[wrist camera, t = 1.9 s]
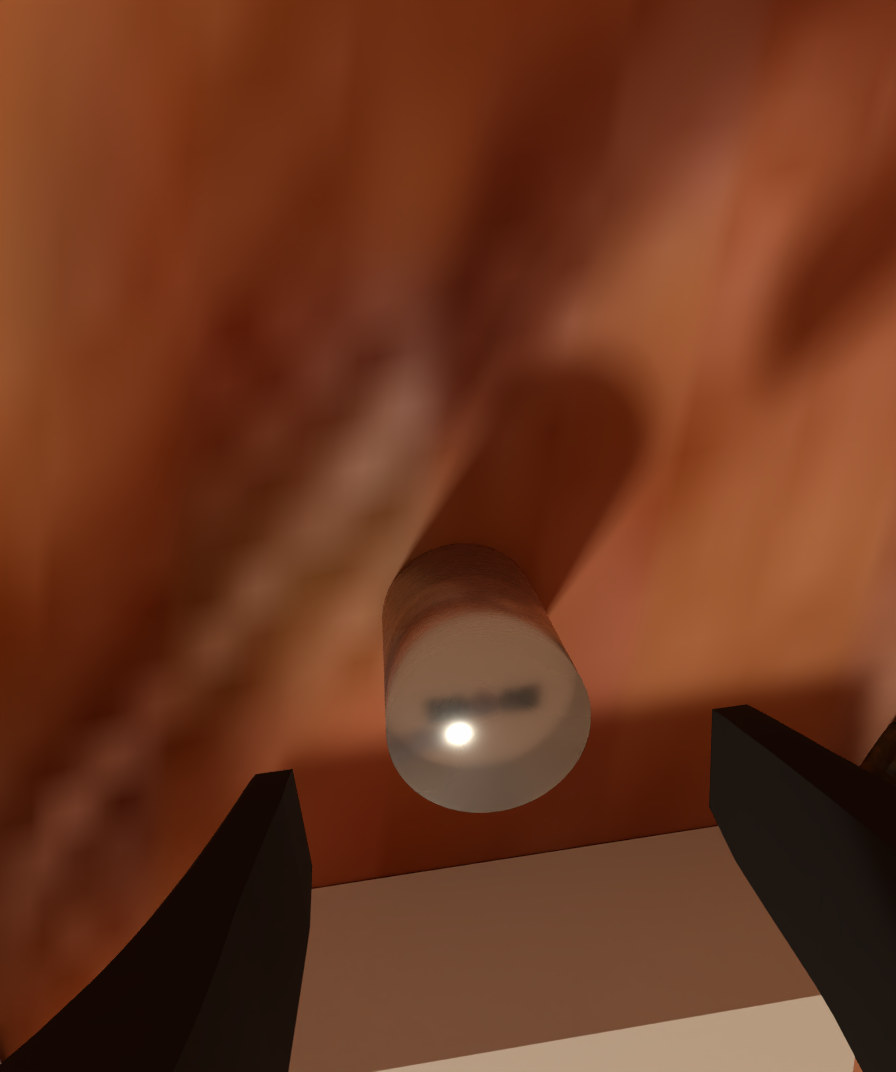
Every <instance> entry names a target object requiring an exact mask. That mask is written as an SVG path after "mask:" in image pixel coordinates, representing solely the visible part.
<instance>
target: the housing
mask: <svg viewBox="0 0 896 1072" xmlns="http://www.w3.org/2000/svg"><path fill="white" fill-rule="evenodd" d="M854 1058H855V1056H854V1054H853V1052H852V1050H851V1048H850V1046H849V1045H848V1043H847V1041H846V1039H845V1037H844V1035H843V1033H842V1031H841V1029H840V1027H839V1026H838V1024H837V1022H836V1020H835V1018H834V1016H833V1014H832V1013H831V1011H830V1009H829V1007H828V1006H827V1004H826V1002H825V1001H824V999H823V997H822V996H821V994H820V992H819V991H818V989H817V987H816V986H815V984H814V982H813V981H812V979H811V978H810V976H809V975H808V973H807V972H806V970H805V969H804V967H803V966H802V964H801V962H800V961H799V959H798V958H797V956H796V955H795V953H794V952H793V950H792V949H791V947H790V945H789V944H788V942H787V941H786V939H785V938H784V936H783V935H782V933H781V932H780V930H779V929H778V927H777V925H776V924H775V922H774V921H773V919H772V918H771V916H770V915H769V913H768V912H767V910H766V908H765V907H764V905H763V904H762V902H761V901H760V899H759V898H758V896H757V894H756V893H755V891H754V890H753V888H752V887H751V885H750V883H749V882H748V880H747V879H746V877H745V876H744V874H743V872H742V871H741V869H740V868H739V866H738V864H737V863H736V861H735V859H734V857H733V855H732V853H731V851H730V849H729V847H728V845H727V843H726V841H725V839H724V837H723V835H722V833H721V831H720V828H719V826H715V827H709V828H702V829H696V830H689V831H683V832H676V833H670V834H664V835H657V836H651V837H644V838H638V839H631V840H625V841H618V842H612V843H605V844H599V845H593V846H586V847H580V848H573V849H567V850H560V851H554V852H547V853H541V854H535V855H528V856H522V857H515V858H509V859H502V860H496V861H489V862H483V863H476V864H470V865H464V866H457V867H451V868H444V869H438V870H431V871H425V872H418V873H412V874H405V875H399V876H393V877H386V878H380V879H373V880H367V881H360V882H354V883H347V884H341V885H335V886H328V887H322V888H315V889H312V892H311V917H310V931H309V938H308V945H307V952H306V959H305V966H304V973H303V979H302V986H301V992H300V999H299V1005H298V1012H297V1019H296V1025H295V1032H294V1038H293V1045H292V1051H291V1058H290V1064H289V1071H288V1072H853V1066H854Z"/></svg>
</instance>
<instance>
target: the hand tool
mask: <svg viewBox="0 0 896 1072" xmlns="http://www.w3.org/2000/svg"><path fill="white" fill-rule="evenodd" d="M860 767H861V768H863V769H864V770H866V771H868V772H870V773H872V774H874V775H876V776H878V777H880V778H882V779H884V780H885V781H887V782H889V783H891V784H893V785H895V786H896V722H894V723H891V724H890V725H889V726H888V727H887V729H886V730H885V731H884V733H883V734H882V735H881V737H880V738H879V739H878V741H877V742H876V744H875V745H874V747H873V748H872V749H871V751H870V752H869V754H868V755H867V757H866V758H865V760H864V762H863V763H862V765H861V766H860Z"/></svg>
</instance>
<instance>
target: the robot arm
mask: <svg viewBox="0 0 896 1072" xmlns="http://www.w3.org/2000/svg"><path fill="white" fill-rule="evenodd" d="M709 807H710V809H711V811H712V813H713V815H714V818H715V820H716V822H717V824H718V826H719V828H720V831H721V833H722V835H723V837H724V839H725V841H726V843H727V845H728V847H729V849H730V851H731V853H732V855H733V857H734V859H735V861H736V863H737V864H738V866H739V868H740V869H741V871H742V872H743V874H744V876H745V877H746V879H747V880H748V882H749V883H750V885H751V887H752V888H753V890H754V891H755V893H756V894H757V896H758V898H759V899H760V901H761V902H762V904H763V905H764V907H765V908H766V910H767V912H768V913H769V915H770V916H771V918H772V919H773V921H774V922H775V924H776V925H777V927H778V929H779V930H780V932H781V933H782V935H783V936H784V938H785V939H786V941H787V942H788V944H789V945H790V947H791V949H792V950H793V952H794V953H795V955H796V956H797V958H798V959H799V961H800V962H801V964H802V966H803V967H804V969H805V970H806V972H807V973H808V975H809V976H810V978H811V979H812V981H813V982H814V984H815V986H816V987H817V989H818V991H819V992H820V994H821V996H822V997H823V999H824V1001H825V1002H826V1004H827V1006H828V1007H829V1009H830V1011H831V1013H832V1014H833V1016H834V1018H835V1020H836V1022H837V1024H838V1026H839V1027H840V1029H841V1031H842V1033H843V1035H844V1037H845V1039H846V1041H847V1043H848V1045H849V1046H850V1048H851V1050H852V1052H853V1054H854V1056H855V1058H856V1060H857V1062H858V1064H859V1065H860V1067H861V1069H862V1071H863V1072H896V786H895V785H893V784H891V783H889V782H887V781H885V780H884V779H882V778H880V777H878V776H876V775H874V774H872V773H870V772H868V771H866V770H864V769H863V768H861V767H859V766H857V765H855V764H853V763H851V762H850V761H848V760H846V759H844V758H842V757H841V756H839V755H837V754H835V753H833V752H832V751H830V750H828V749H826V748H824V747H823V746H821V745H819V744H817V743H816V742H814V741H812V740H810V739H809V738H807V737H805V736H803V735H802V734H800V733H798V732H796V731H795V730H793V729H791V728H789V727H787V726H786V725H784V724H782V723H780V722H779V721H777V720H775V719H773V718H771V717H770V716H768V715H766V714H764V713H762V712H760V711H759V710H757V709H755V708H753V707H751V706H749V705H740V706H733V707H726V708H719V709H712V736H711V768H710V800H709ZM311 892H312V863H311V858H310V853H309V848H308V843H307V838H306V833H305V828H304V823H303V818H302V813H301V808H300V803H299V798H298V794H297V789H296V784H295V779H294V774H293V769H290V770H283V771H276V772H269V773H262V774H256V775H255V776H254V777H253V778H252V780H251V781H250V782H249V784H248V785H247V787H246V788H245V790H244V791H243V793H242V794H241V796H240V797H239V799H238V800H237V802H236V803H235V805H234V806H233V808H232V809H231V811H230V812H229V814H228V815H227V817H226V818H225V820H224V821H223V823H222V824H221V825H220V827H219V828H218V830H217V831H216V833H215V834H214V836H213V837H212V838H211V840H210V841H209V843H208V844H207V845H206V847H205V848H204V849H203V851H202V852H201V854H200V855H199V856H198V858H197V859H196V860H195V862H194V863H193V865H192V866H191V867H190V869H189V870H188V871H187V873H186V874H185V875H184V877H183V878H182V879H181V880H180V882H179V883H178V884H177V885H176V887H175V888H174V889H173V890H172V892H171V893H170V894H169V895H168V897H167V898H166V899H165V900H164V902H163V903H162V904H161V905H160V907H159V908H158V909H157V910H156V912H155V913H154V914H153V915H152V917H151V918H150V919H149V920H148V921H147V923H146V924H145V925H144V926H143V927H142V928H141V929H140V931H139V932H138V933H137V934H136V935H135V936H134V937H133V939H132V940H131V941H130V942H129V943H128V944H127V945H126V946H125V947H124V949H123V950H122V951H121V952H120V953H119V954H118V955H117V956H116V957H115V958H114V959H113V960H112V961H111V962H110V963H109V964H108V966H107V967H106V968H105V969H104V970H103V971H102V972H101V973H100V974H99V975H98V976H97V977H96V978H95V979H94V980H93V981H92V982H91V983H90V984H89V985H87V986H86V987H85V988H84V989H83V990H82V991H81V992H80V993H79V994H78V995H77V996H76V997H75V998H74V999H73V1000H71V1001H70V1002H69V1003H68V1004H67V1005H66V1006H65V1007H64V1008H63V1009H62V1010H61V1011H60V1012H59V1013H58V1014H57V1015H55V1016H54V1017H53V1018H52V1019H51V1020H50V1021H49V1022H48V1023H47V1024H46V1025H45V1026H44V1027H43V1028H42V1029H41V1030H40V1031H38V1032H37V1033H36V1034H35V1035H34V1036H33V1037H32V1038H30V1039H29V1040H28V1041H27V1042H26V1043H25V1044H23V1045H22V1046H21V1047H20V1048H19V1049H18V1050H16V1051H15V1052H14V1053H13V1054H12V1055H11V1056H9V1057H8V1058H7V1059H6V1060H5V1061H3V1062H2V1063H1V1061H0V1072H288V1071H289V1064H290V1058H291V1051H292V1045H293V1038H294V1032H295V1025H296V1019H297V1012H298V1005H299V999H300V992H301V986H302V979H303V973H304V966H305V959H306V952H307V945H308V938H309V931H310V917H311Z"/></svg>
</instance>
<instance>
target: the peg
mask: <svg viewBox="0 0 896 1072" xmlns="http://www.w3.org/2000/svg"><path fill="white" fill-rule="evenodd" d="M382 628H383V657H384V685H385V714H386V737H387V745H388V750H389V754H390V756H391V759H392V761H393V764H394V766H395V768H396V769H397V771H398V773H399V774H400V776H401V777H402V778H403V779H404V781H405V782H406V783H407V784H408V785H409V786H410V787H411V788H412V789H413V790H414V791H416V792H417V793H418V794H420V795H421V796H423V797H424V798H426V799H427V800H429V801H431V802H433V803H435V804H438V805H440V806H443V807H446V808H449V809H453V810H457V811H463V812H471V813H488V812H498V811H503V810H508V809H512V808H515V807H518V806H521V805H524V804H526V803H528V802H531V801H533V800H535V799H537V798H538V797H540V796H542V795H544V794H545V793H547V792H548V791H549V790H551V789H552V788H554V787H555V786H556V785H557V784H558V783H559V782H560V781H562V780H563V779H564V778H565V777H566V775H567V774H568V773H569V772H570V771H571V770H572V769H573V767H574V766H575V764H576V763H577V761H578V760H579V758H580V756H581V754H582V752H583V750H584V748H585V745H586V742H587V739H588V736H589V731H590V725H591V709H590V701H589V697H588V694H587V690H586V688H585V686H584V684H583V681H582V679H581V678H580V676H579V674H578V672H577V670H576V668H575V666H574V664H573V662H572V661H571V659H570V657H569V655H568V653H567V651H566V649H565V647H564V646H563V644H562V642H561V640H560V638H559V636H558V634H557V632H556V631H555V629H554V627H553V625H552V623H551V621H550V619H549V617H548V616H547V614H546V612H545V610H544V608H543V606H542V604H541V602H540V600H539V599H538V597H537V595H536V593H535V591H534V589H533V587H532V585H531V584H530V582H529V580H528V578H527V577H526V575H525V574H524V572H523V571H522V570H521V569H520V567H519V566H518V565H517V564H516V563H514V562H513V561H512V560H511V559H510V558H508V557H507V556H505V555H504V554H502V553H500V552H498V551H496V550H494V549H491V548H488V547H485V546H481V545H475V544H451V545H446V546H441V547H438V548H435V549H432V550H430V551H428V552H426V553H423V554H422V555H420V556H418V557H417V558H415V559H414V560H412V561H411V562H410V563H409V564H408V565H406V566H405V567H404V568H403V569H402V570H401V571H400V573H399V574H398V575H397V576H396V578H395V579H394V581H393V582H392V584H391V586H390V588H389V590H388V592H387V595H386V597H385V601H384V605H383V613H382Z"/></svg>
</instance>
